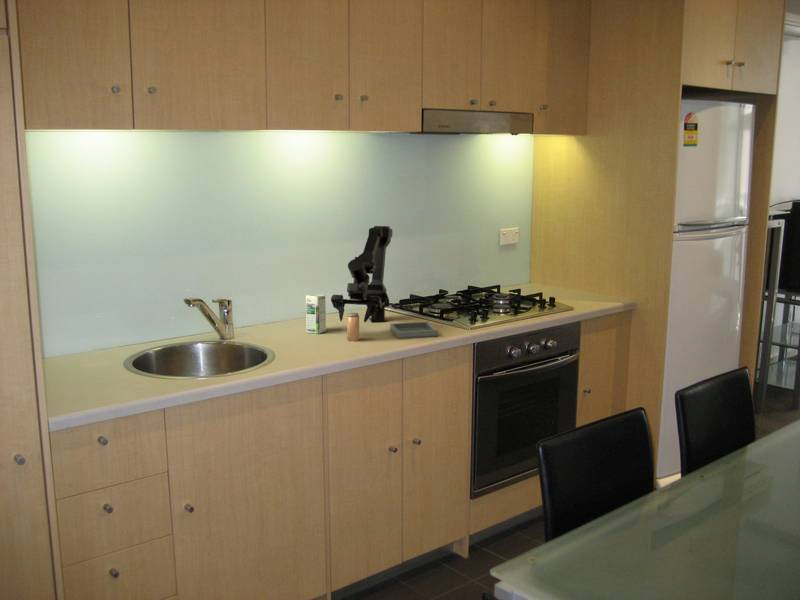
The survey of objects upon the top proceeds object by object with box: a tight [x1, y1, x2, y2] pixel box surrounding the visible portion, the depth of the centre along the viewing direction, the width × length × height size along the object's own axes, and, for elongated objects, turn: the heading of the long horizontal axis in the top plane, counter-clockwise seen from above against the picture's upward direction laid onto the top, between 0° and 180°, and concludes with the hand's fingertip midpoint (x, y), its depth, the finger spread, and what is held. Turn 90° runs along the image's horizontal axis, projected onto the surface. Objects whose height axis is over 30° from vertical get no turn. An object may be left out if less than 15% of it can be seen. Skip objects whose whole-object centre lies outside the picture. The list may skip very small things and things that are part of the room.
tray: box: [389, 321, 438, 340], centre depth 304 cm, size 15×15×2 cm
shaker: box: [346, 312, 360, 342], centre depth 294 cm, size 4×4×10 cm
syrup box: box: [305, 294, 327, 335], centre depth 306 cm, size 6×6×14 cm
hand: (352, 321), depth 293 cm, fingers open, 9 cm apart
